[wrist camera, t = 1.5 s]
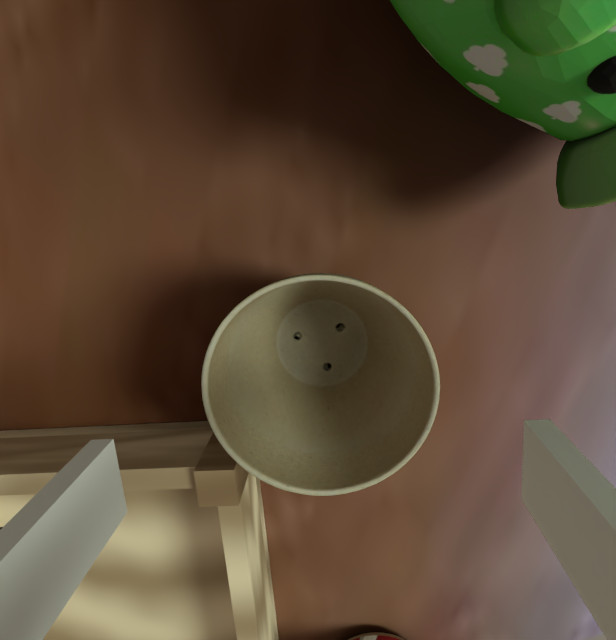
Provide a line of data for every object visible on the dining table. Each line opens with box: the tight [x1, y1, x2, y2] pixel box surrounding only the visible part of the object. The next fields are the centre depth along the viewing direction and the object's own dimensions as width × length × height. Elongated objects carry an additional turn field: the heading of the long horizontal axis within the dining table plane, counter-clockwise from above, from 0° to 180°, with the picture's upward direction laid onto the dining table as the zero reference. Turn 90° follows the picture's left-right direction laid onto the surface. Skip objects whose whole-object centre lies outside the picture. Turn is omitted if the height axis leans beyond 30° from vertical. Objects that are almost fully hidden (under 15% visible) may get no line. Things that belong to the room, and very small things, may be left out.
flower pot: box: [201, 273, 440, 496], centre depth 24 cm, size 10×10×7 cm
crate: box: [0, 421, 279, 640], centre depth 29 cm, size 19×19×5 cm
